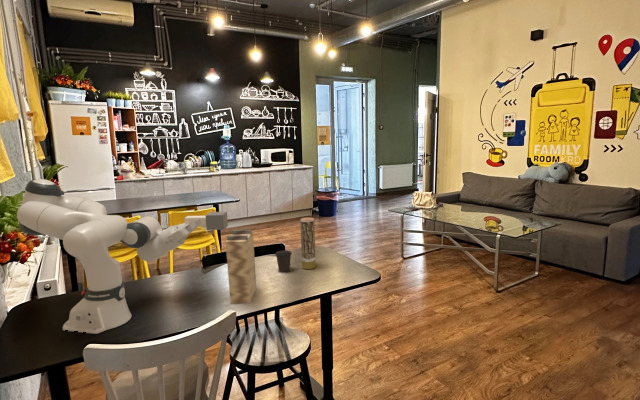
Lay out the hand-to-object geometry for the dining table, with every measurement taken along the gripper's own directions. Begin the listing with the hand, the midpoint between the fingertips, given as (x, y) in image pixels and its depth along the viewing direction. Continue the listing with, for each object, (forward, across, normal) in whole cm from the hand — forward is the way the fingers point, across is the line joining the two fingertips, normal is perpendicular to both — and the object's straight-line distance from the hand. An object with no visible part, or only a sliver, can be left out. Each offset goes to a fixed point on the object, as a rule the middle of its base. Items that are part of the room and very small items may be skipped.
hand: (201, 219), depth 156 cm
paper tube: (+19, +32, +50) cm, 62 cm away
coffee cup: (+9, +28, +44) cm, 53 cm away
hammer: (0, 0, +4) cm, 4 cm away
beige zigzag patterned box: (-3, 0, +36) cm, 37 cm away
